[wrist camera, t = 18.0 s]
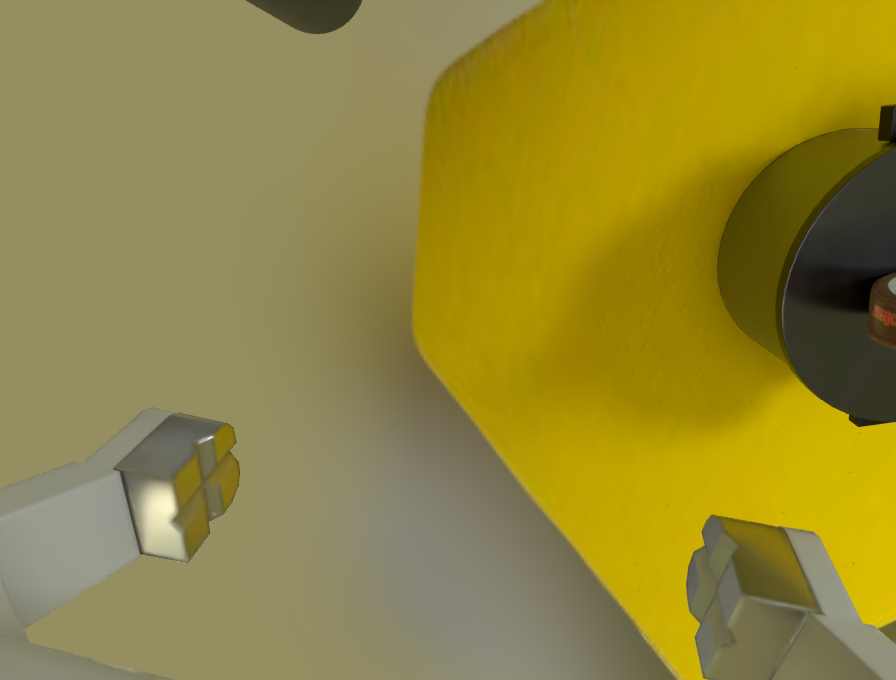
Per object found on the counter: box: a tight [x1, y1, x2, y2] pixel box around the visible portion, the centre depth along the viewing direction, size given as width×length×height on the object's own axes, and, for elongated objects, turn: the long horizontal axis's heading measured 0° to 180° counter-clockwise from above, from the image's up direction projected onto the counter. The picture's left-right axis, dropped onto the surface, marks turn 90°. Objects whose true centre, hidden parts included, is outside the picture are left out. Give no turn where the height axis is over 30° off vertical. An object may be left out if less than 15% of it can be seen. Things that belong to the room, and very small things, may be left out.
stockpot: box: [718, 104, 896, 427], centre depth 36 cm, size 19×17×9 cm
